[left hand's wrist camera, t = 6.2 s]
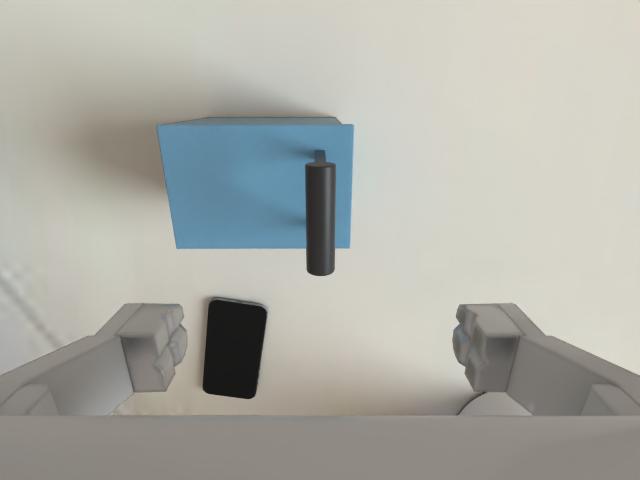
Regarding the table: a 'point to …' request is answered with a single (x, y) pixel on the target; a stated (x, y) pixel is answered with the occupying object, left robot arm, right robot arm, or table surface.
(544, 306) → the table surface
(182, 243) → the lid
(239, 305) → the smartphone
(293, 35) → the table surface
